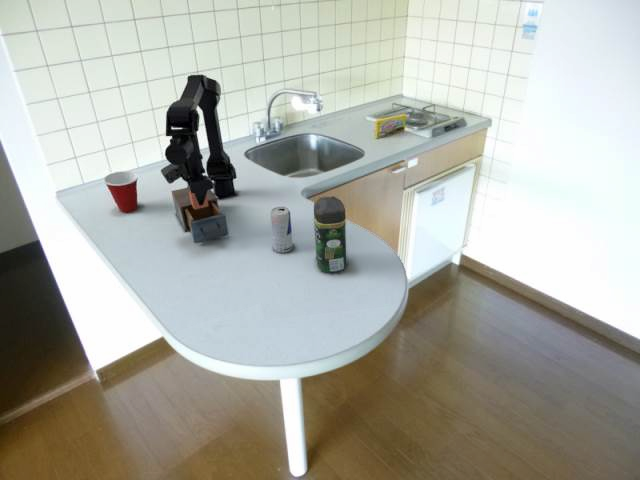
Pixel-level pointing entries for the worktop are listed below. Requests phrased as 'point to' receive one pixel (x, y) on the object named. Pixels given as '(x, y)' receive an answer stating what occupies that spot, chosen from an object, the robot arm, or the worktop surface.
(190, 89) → the robot arm
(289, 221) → the energy drink
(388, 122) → the candy box
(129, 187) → the plastic cup
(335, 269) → the coffee jar
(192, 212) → the drawer
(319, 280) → the worktop surface
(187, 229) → the cabinet
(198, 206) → the block
